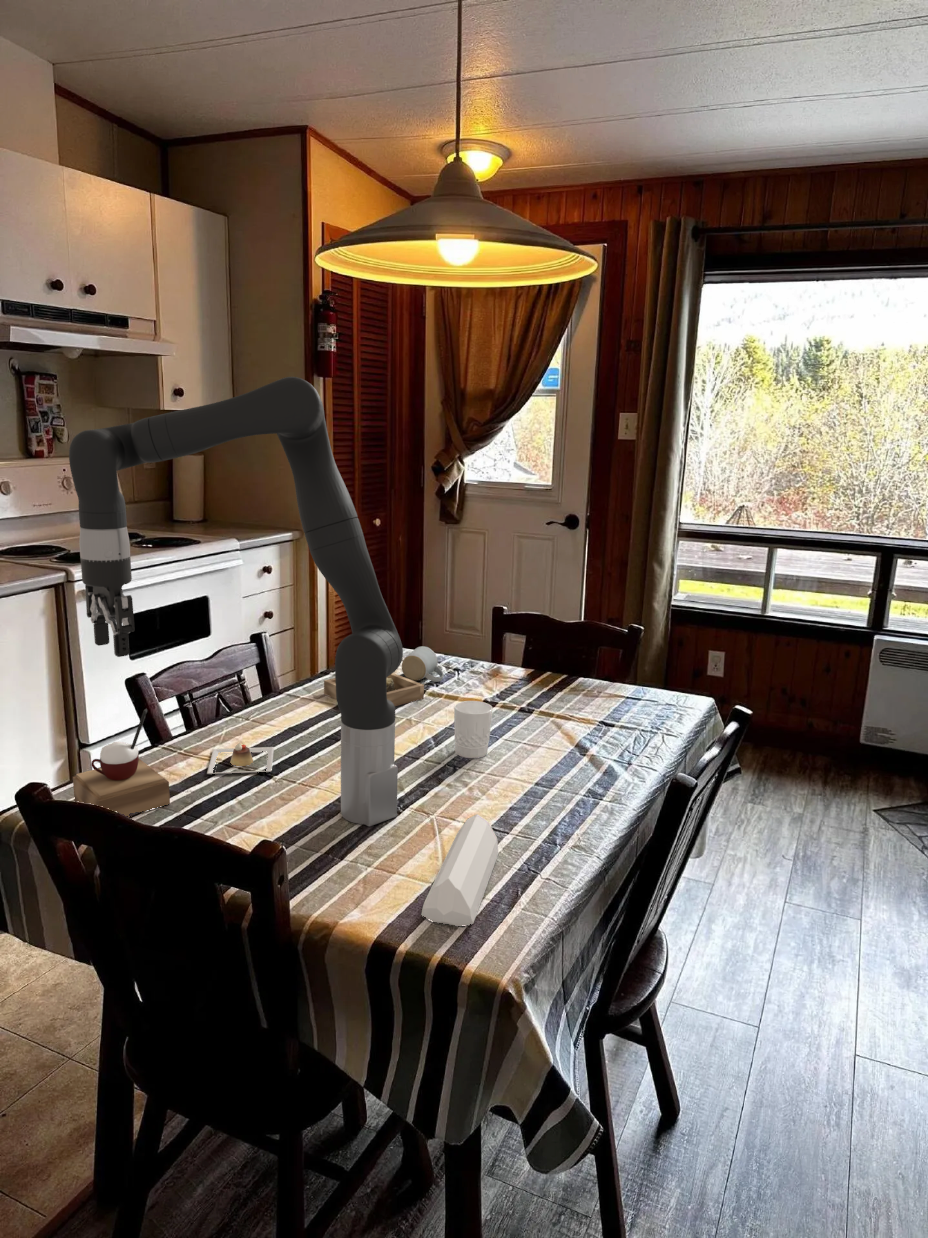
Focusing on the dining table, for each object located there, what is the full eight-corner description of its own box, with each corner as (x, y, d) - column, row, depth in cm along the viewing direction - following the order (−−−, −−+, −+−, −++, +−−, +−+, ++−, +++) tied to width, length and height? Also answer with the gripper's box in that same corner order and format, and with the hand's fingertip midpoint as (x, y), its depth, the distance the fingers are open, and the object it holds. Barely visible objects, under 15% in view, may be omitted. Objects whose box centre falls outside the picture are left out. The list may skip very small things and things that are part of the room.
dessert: (274, 752, 173) (273, 730, 172) (271, 776, 161) (271, 753, 160) (213, 754, 171) (212, 732, 170) (206, 779, 159) (206, 755, 158)
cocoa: (88, 782, 144) (79, 717, 141) (110, 766, 150) (101, 704, 147) (138, 787, 142) (130, 721, 139) (158, 770, 148) (150, 707, 145)
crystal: (484, 914, 113) (513, 830, 135) (440, 883, 113) (476, 805, 136) (455, 951, 115) (488, 863, 138) (412, 921, 115) (452, 838, 138)
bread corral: (423, 698, 206) (424, 685, 205) (366, 713, 195) (366, 699, 194) (380, 680, 218) (380, 667, 218) (324, 694, 207) (324, 680, 206)
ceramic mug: (399, 679, 220) (400, 651, 218) (411, 671, 227) (412, 644, 225) (436, 686, 216) (438, 657, 215) (448, 677, 224) (449, 649, 222)
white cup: (444, 751, 175) (446, 706, 172) (470, 742, 181) (472, 698, 178) (472, 763, 170) (474, 716, 167) (498, 753, 175) (500, 707, 173)
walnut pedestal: (170, 804, 147) (168, 778, 146) (100, 825, 139) (98, 798, 138) (141, 781, 156) (140, 756, 155) (74, 800, 148) (72, 773, 147)
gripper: (146, 558, 134) (151, 656, 138) (111, 546, 144) (117, 637, 148) (98, 563, 129) (105, 664, 133) (66, 550, 139) (73, 644, 143)
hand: (111, 650), depth 141 cm, fingers open, 8 cm apart
